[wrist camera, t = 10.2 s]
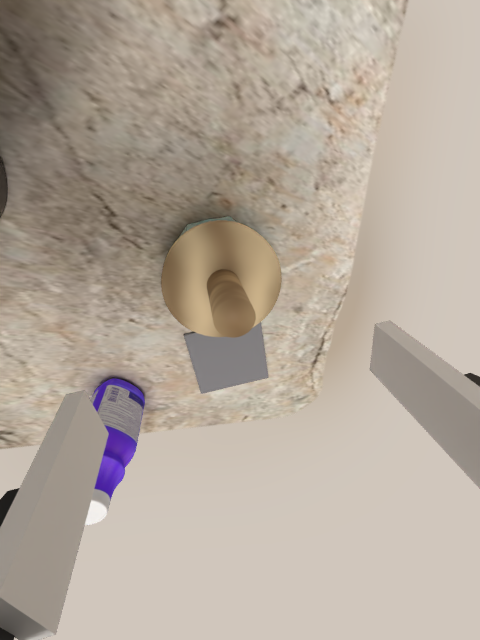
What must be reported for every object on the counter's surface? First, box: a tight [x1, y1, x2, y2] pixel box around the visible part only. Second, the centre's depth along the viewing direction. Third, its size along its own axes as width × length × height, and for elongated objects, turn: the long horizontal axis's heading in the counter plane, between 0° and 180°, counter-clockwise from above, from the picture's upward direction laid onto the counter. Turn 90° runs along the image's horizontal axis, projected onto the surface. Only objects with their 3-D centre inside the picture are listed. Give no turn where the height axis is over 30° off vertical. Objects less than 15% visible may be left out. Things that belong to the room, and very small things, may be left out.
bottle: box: [85, 378, 145, 525], centre depth 35 cm, size 7×6×17 cm
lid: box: [161, 220, 281, 338], centre depth 28 cm, size 13×13×10 cm
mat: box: [184, 322, 268, 394], centre depth 43 cm, size 11×11×1 cm
